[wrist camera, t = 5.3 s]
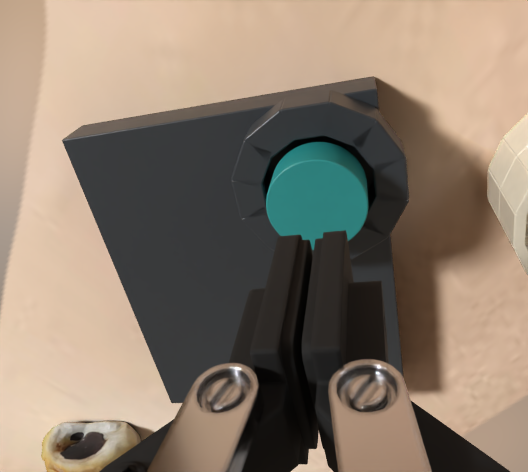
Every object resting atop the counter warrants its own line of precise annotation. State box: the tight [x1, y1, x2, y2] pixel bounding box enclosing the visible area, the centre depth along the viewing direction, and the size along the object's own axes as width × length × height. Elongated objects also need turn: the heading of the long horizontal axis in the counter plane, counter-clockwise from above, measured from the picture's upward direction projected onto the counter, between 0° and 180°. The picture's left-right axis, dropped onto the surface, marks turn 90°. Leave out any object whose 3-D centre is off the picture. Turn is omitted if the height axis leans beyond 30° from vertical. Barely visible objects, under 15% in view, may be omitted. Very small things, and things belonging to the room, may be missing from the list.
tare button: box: [266, 142, 369, 250], centre depth 18 cm, size 4×4×2 cm
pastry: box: [41, 421, 141, 472], centre depth 34 cm, size 9×7×4 cm
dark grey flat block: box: [62, 77, 409, 403], centre depth 23 cm, size 16×14×4 cm
